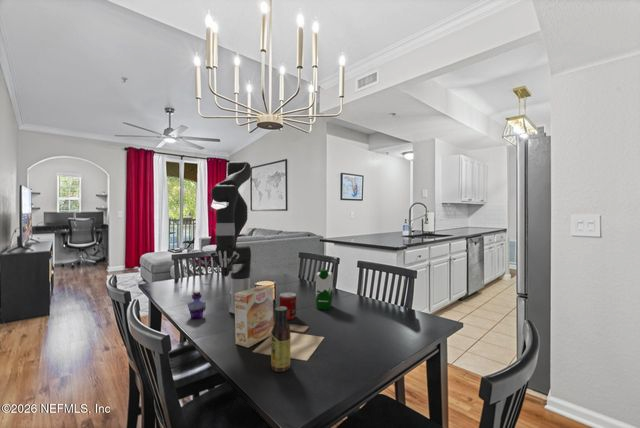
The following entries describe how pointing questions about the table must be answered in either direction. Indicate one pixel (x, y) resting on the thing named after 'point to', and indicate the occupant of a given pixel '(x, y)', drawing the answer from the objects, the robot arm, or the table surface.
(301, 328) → the walnut turner
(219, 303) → the table surface
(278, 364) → the sauce bottle
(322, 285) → the milk carton
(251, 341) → the coffeecake box
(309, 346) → the cork mat
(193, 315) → the potion bottle
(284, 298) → the canned food
